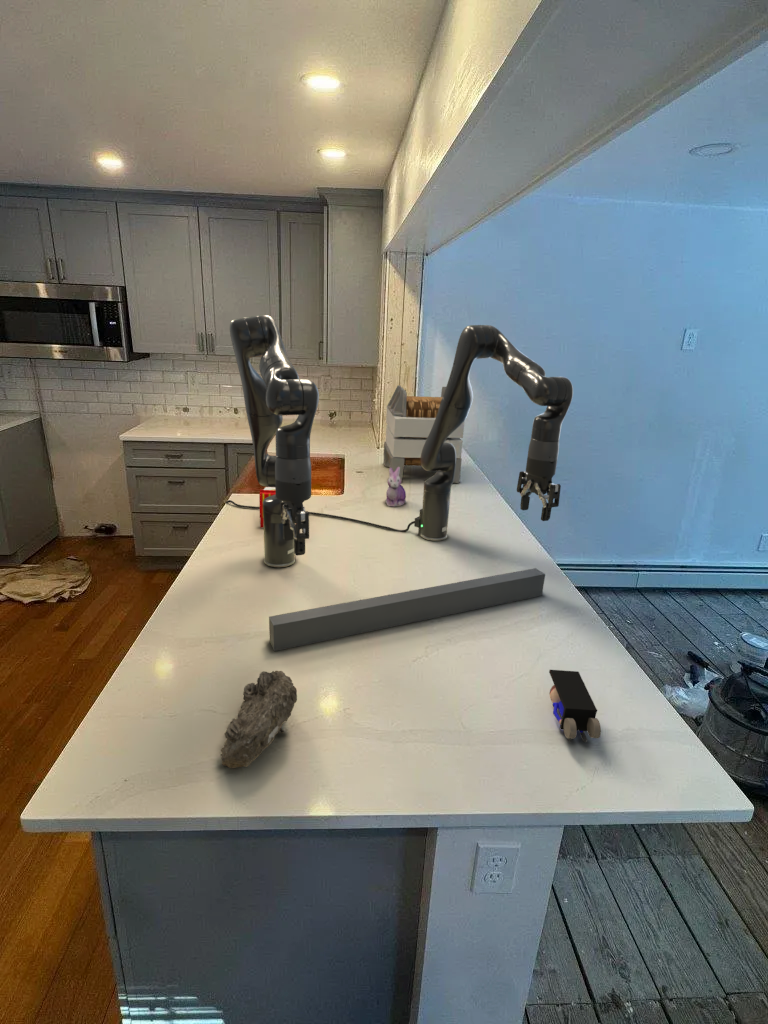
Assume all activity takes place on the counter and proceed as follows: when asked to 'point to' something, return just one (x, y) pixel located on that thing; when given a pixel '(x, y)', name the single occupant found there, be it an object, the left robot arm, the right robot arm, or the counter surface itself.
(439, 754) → the counter surface
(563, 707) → the figurine character
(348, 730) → the counter surface
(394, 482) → the figurine
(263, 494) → the toy
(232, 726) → the fossil
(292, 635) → the beam
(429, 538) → the right robot arm
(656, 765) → the counter surface
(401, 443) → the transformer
